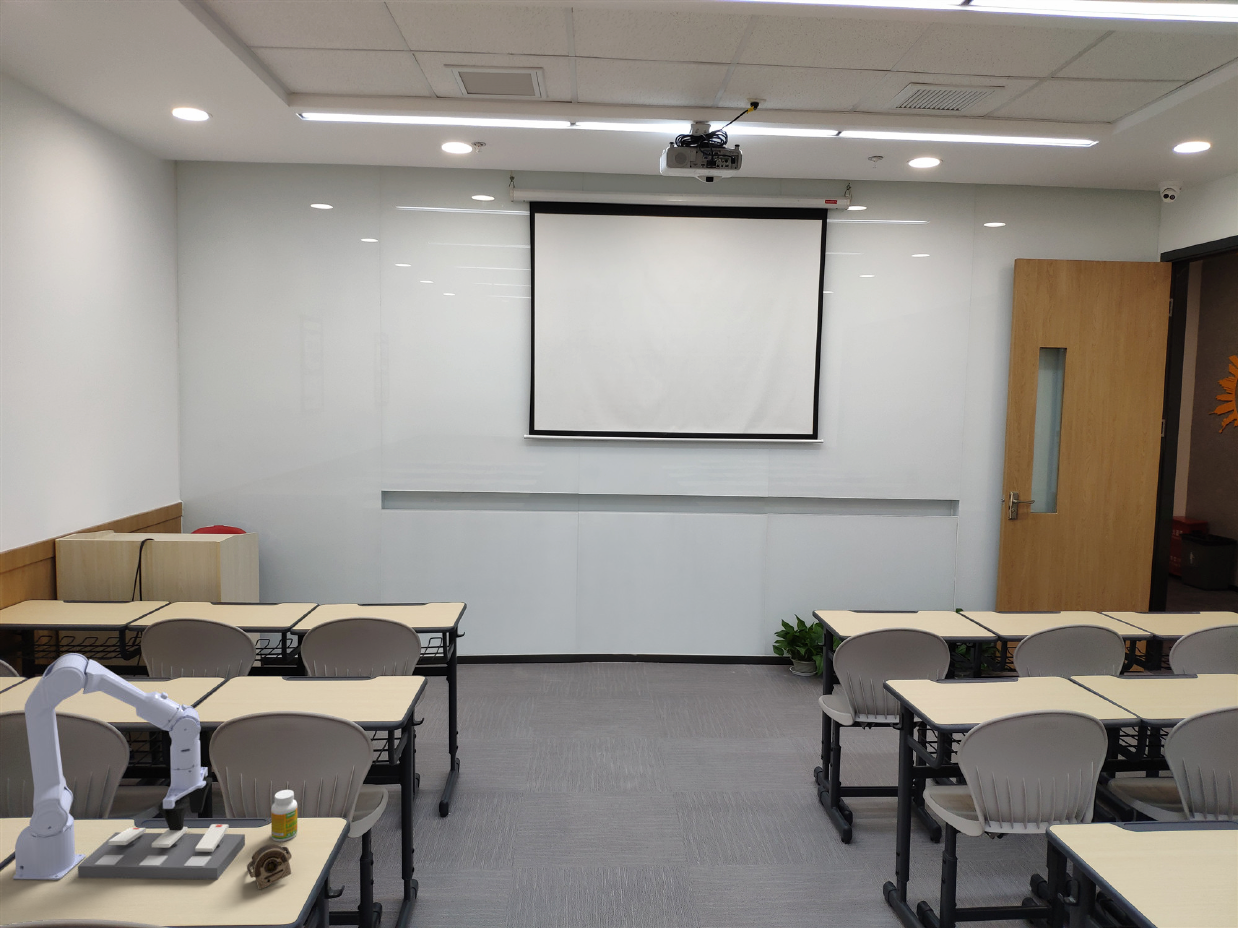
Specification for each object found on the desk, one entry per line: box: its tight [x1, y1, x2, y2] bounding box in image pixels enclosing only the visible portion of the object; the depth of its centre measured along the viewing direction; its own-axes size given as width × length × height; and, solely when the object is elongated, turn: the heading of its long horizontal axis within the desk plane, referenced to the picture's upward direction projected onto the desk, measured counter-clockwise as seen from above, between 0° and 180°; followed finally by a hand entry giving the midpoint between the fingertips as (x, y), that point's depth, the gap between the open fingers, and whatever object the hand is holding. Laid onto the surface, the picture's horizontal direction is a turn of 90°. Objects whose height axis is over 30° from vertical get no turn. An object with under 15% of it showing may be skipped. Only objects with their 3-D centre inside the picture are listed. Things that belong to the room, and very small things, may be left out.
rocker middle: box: [152, 826, 188, 848], centre depth 162 cm, size 4×7×1 cm, turn 1°
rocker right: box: [195, 823, 230, 852], centre depth 162 cm, size 4×7×1 cm, turn 2°
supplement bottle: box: [270, 789, 298, 842], centre depth 170 cm, size 5×5×10 cm
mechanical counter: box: [246, 843, 292, 890], centre depth 157 cm, size 7×13×10 cm
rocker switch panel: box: [77, 831, 246, 881], centre depth 160 cm, size 28×12×3 cm, turn 92°
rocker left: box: [108, 827, 147, 845], centre depth 161 cm, size 4×7×1 cm, turn 1°
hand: (186, 822), depth 168 cm, fingers open, 7 cm apart
